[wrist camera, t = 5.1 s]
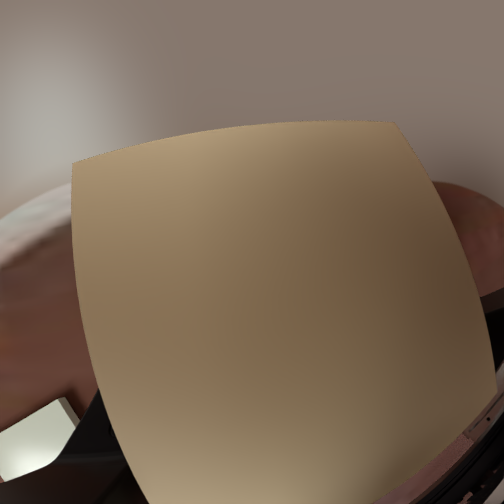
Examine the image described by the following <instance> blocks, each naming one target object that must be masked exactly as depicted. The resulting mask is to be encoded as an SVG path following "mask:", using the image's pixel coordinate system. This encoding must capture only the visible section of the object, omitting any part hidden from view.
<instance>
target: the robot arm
mask: <svg viewBox="0 0 504 504" xmlns="http://www.w3.org/2000/svg"><path fill="white" fill-rule="evenodd" d="M479 298H480V301H481V305H482V308H483V312H484V316H485V320H486V324H487V329H488V333H489V338H490V343H491V349H492V354H493V360H494V367H495V374H496V383H497V393H496V395H495V396H494V397H493V398H492V400H491V401H490V402H489V403H488V405H487V406H486V407H485V408H484V409H483V410H482V412H481V413H480V414H479V415H478V416H477V417H476V418H475V419H474V421H473V422H472V423H471V424H470V425H469V426H468V427H467V428H466V429H465V430H464V431H463V432H462V433H463V434H464V435H465V436H466V438H467V439H469V438H471V439H472V440H473V441H474V444H473V445H472V446H471V447H470V448H469V449H468V450H467V452H466V453H465V454H464V455H463V456H462V457H461V458H460V459H459V460H458V461H457V462H456V463H455V464H454V465H453V466H452V467H451V468H450V469H449V470H448V471H447V472H446V473H445V474H444V475H442V476H441V477H440V478H439V479H438V480H437V481H436V482H435V483H434V484H432V485H431V486H430V487H429V488H428V489H427V490H425V491H424V492H423V493H422V494H420V495H419V496H418V497H417V498H415V499H414V500H413V501H412V502H410V503H409V504H458V503H459V502H461V501H462V500H463V497H464V496H465V495H466V494H467V493H468V492H471V493H472V494H473V496H471V497H470V498H469V499H468V500H467V502H468V503H467V504H504V287H503V288H501V289H499V290H497V291H495V292H492V293H490V294H488V295H485V296H482V297H479ZM0 504H149V502H148V501H147V499H146V497H145V495H144V493H143V492H142V490H141V488H140V486H139V484H138V482H137V480H136V479H135V477H134V475H133V473H132V471H131V468H130V466H129V464H128V462H127V460H126V458H125V456H124V453H123V451H122V449H121V447H120V444H119V442H118V440H117V437H116V435H115V432H114V430H113V427H112V425H111V422H110V419H109V416H108V414H107V411H106V408H105V405H104V402H103V399H102V396H101V393H100V390H99V388H98V390H97V392H96V394H95V396H94V398H93V400H92V401H91V403H90V405H89V407H88V409H87V410H86V412H85V413H84V415H83V417H82V418H81V420H80V422H79V423H78V425H77V426H76V428H75V430H74V431H73V433H72V435H71V436H70V438H69V439H68V441H67V443H66V444H65V446H64V448H63V449H62V451H61V452H60V454H59V455H58V456H57V457H56V459H55V460H53V461H52V462H51V463H50V464H48V465H46V466H44V467H42V468H40V469H37V470H35V471H32V472H30V473H27V474H25V475H22V476H19V477H17V478H14V479H11V480H9V481H6V482H3V483H0Z"/></svg>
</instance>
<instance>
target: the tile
mask: <svg viewBox="0 0 504 504" xmlns="http://www.w3.org/2000/svg"><path fill="white" fill-rule="evenodd" d="M79 422H80V420H79V419H78V417H77V415H76V414H75V412H74V411H73V409H72V408H71V406H70V405H69V403H68V401H67V400H66V398H65V397H63V398H59V399H57V400H55V401H53V402H52V403H50V404H48V405H47V406H45V407H43V408H42V409H40V410H38V411H37V412H35V413H33V414H32V415H30V416H28V417H27V418H25V419H23V420H22V421H20V422H18V423H16V424H15V425H13V426H11V427H10V428H8V429H6V430H4V431H3V432H1V433H0V475H1V477H2V478H3V480H4V481H5V482H6V481H9V480H11V479H14V478H17V477H19V476H22V475H25V474H27V473H30V472H32V471H35V470H37V469H40V468H42V467H44V466H46V465H48V464H50V463H51V462H52V461H53V460H55V459H56V457H57V456H58V455H59V454H60V452H61V451H62V449H63V448H64V446H65V444H66V443H67V441H68V439H69V438H70V436H71V435H72V433H73V431H74V430H75V428H76V426H77V425H78V423H79Z"/></svg>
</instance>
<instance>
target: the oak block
mask: <svg viewBox="0 0 504 504" xmlns="http://www.w3.org/2000/svg"><path fill="white" fill-rule="evenodd" d="M71 216H72V241H73V255H74V266H75V275H76V284H77V291H78V298H79V304H80V310H81V316H82V322H83V327H84V332H85V336H86V341H87V345H88V350H89V354H90V358H91V362H92V366H93V369H94V373H95V376H96V380H97V383H98V387H99V390H100V393H101V396H102V399H103V402H104V405H105V408H106V411H107V414H108V416H109V419H110V422H111V425H112V427H113V430H114V432H115V435H116V437H117V440H118V442H119V444H120V447H121V449H122V451H123V453H124V456H125V458H126V460H127V462H128V464H129V466H130V468H131V471H132V473H133V475H134V477H135V479H136V480H137V482H138V484H139V486H140V488H141V490H142V492H143V493H144V495H145V497H146V499H147V501H148V502H149V504H372V503H373V502H375V501H377V500H378V499H380V498H381V497H383V496H385V495H386V494H388V493H389V492H391V491H392V490H394V489H395V488H397V487H398V486H399V485H401V484H402V483H404V482H405V481H406V480H408V479H409V478H410V477H412V476H413V475H414V474H416V473H417V472H418V471H420V470H421V469H422V468H423V467H425V466H426V465H427V464H428V463H429V462H431V461H432V460H433V459H434V458H435V457H436V456H438V455H439V454H440V453H441V452H442V451H443V450H444V449H445V448H447V447H448V446H449V445H450V444H451V443H452V442H453V441H454V440H455V439H456V438H457V437H458V436H459V435H460V434H461V433H462V432H463V431H464V430H465V429H466V428H467V427H468V426H469V425H470V424H471V423H472V422H473V421H474V419H475V418H476V417H477V416H478V415H479V414H480V413H481V412H482V410H483V409H484V408H485V407H486V406H487V405H488V403H489V402H490V401H491V400H492V398H493V397H494V396H495V395H496V393H497V383H496V374H495V367H494V360H493V354H492V349H491V343H490V338H489V333H488V329H487V324H486V320H485V316H484V312H483V308H482V305H481V301H480V298H479V294H478V291H477V288H476V284H475V281H474V278H473V275H472V272H471V269H470V266H469V264H468V261H467V258H466V256H465V253H464V250H463V248H462V245H461V243H460V240H459V238H458V235H457V233H456V231H455V228H454V226H453V224H452V222H451V220H450V217H449V215H448V213H447V211H446V209H445V207H444V205H443V203H442V201H441V199H440V197H439V195H438V193H437V191H436V189H435V187H434V185H433V183H432V182H431V180H430V178H429V176H428V174H427V173H426V171H425V169H424V167H423V166H422V164H421V162H420V161H419V159H418V157H417V156H416V154H415V152H414V151H413V149H412V148H411V146H410V144H409V143H408V142H407V140H406V138H405V137H404V135H403V134H402V132H401V131H400V130H399V128H398V127H397V125H396V124H395V123H394V122H378V121H299V122H283V123H269V124H258V125H248V126H239V127H231V128H223V129H216V130H209V131H203V132H197V133H191V134H185V135H181V136H175V137H170V138H165V139H160V140H156V141H151V142H147V143H142V144H138V145H134V146H130V147H126V148H122V149H119V150H115V151H111V152H108V153H104V154H101V155H97V156H95V157H91V158H88V159H84V160H81V161H78V162H75V163H73V167H72V191H71Z"/></svg>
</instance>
